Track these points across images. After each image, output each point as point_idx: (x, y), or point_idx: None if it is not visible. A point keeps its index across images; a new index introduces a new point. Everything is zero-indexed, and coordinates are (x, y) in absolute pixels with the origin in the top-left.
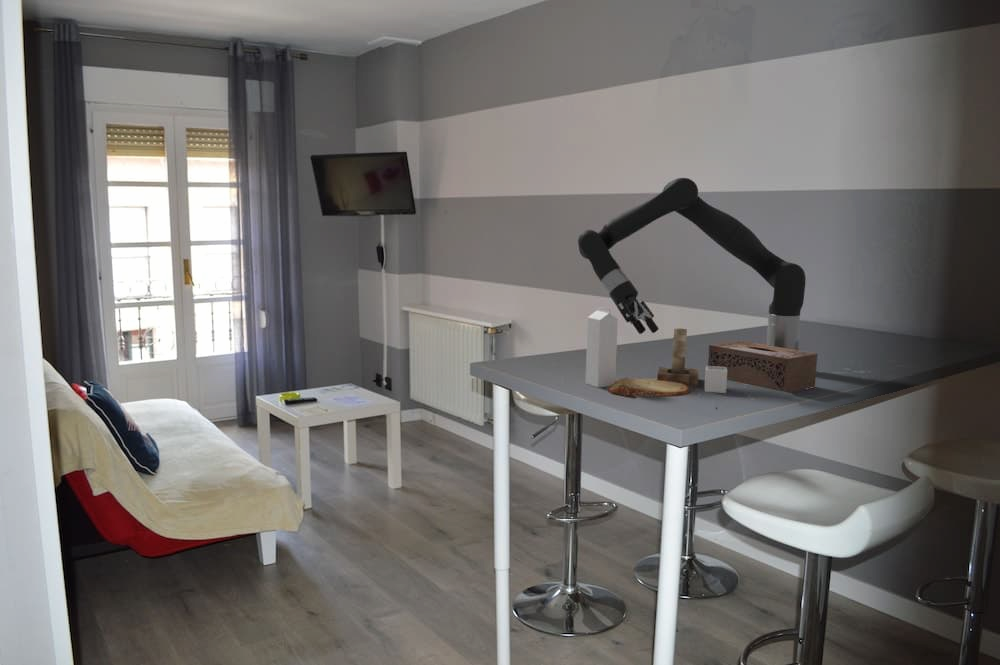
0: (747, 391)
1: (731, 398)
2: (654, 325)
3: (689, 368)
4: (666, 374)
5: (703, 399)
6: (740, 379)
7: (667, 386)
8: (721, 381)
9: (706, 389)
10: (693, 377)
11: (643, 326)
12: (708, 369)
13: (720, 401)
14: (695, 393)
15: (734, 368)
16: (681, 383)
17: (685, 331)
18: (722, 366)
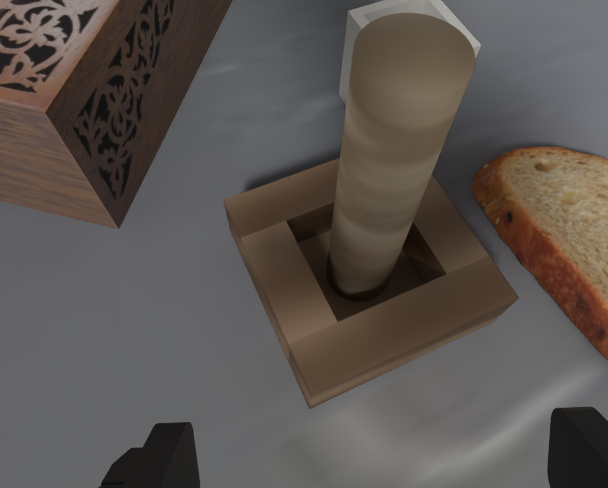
0: (291, 44)
1: None
2: (174, 472)
3: (240, 235)
4: (487, 258)
5: (533, 100)
6: (182, 75)
7: (571, 220)
8: None
9: None
10: None
11: (599, 433)
12: (470, 39)
13: (508, 57)
14: (471, 150)
15: (159, 64)
16: (504, 179)
17: (418, 24)
18: (132, 116)
